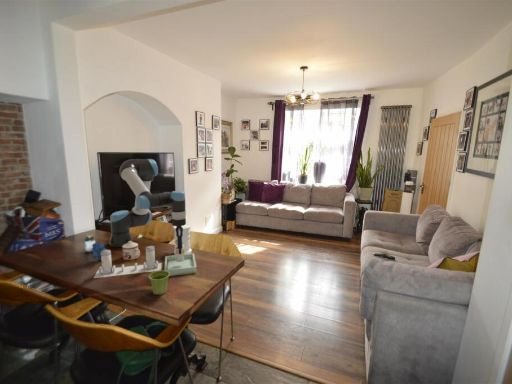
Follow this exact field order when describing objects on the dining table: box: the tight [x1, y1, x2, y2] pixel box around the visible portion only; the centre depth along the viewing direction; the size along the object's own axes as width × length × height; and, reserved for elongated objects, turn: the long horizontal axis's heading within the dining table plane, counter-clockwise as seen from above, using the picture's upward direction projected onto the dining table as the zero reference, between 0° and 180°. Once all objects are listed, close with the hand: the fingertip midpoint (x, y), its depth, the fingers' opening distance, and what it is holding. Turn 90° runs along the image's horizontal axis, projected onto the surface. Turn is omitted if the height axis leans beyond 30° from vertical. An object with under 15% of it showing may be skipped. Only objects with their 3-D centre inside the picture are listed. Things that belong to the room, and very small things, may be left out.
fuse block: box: [93, 245, 163, 279], centre depth 141 cm, size 10×33×14 cm, turn 107°
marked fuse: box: [174, 240, 184, 262], centre depth 149 cm, size 5×5×12 cm
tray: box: [163, 252, 198, 277], centre depth 150 cm, size 20×17×3 cm
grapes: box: [91, 241, 108, 261], centre depth 154 cm, size 12×7×12 cm, turn 71°
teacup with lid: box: [121, 241, 141, 261], centre depth 158 cm, size 12×9×12 cm
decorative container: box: [173, 223, 193, 255], centre depth 170 cm, size 12×12×18 cm
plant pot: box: [148, 270, 170, 295], centre depth 123 cm, size 9×9×9 cm
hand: (180, 256), depth 149 cm, fingers closed on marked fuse, 5 cm apart
